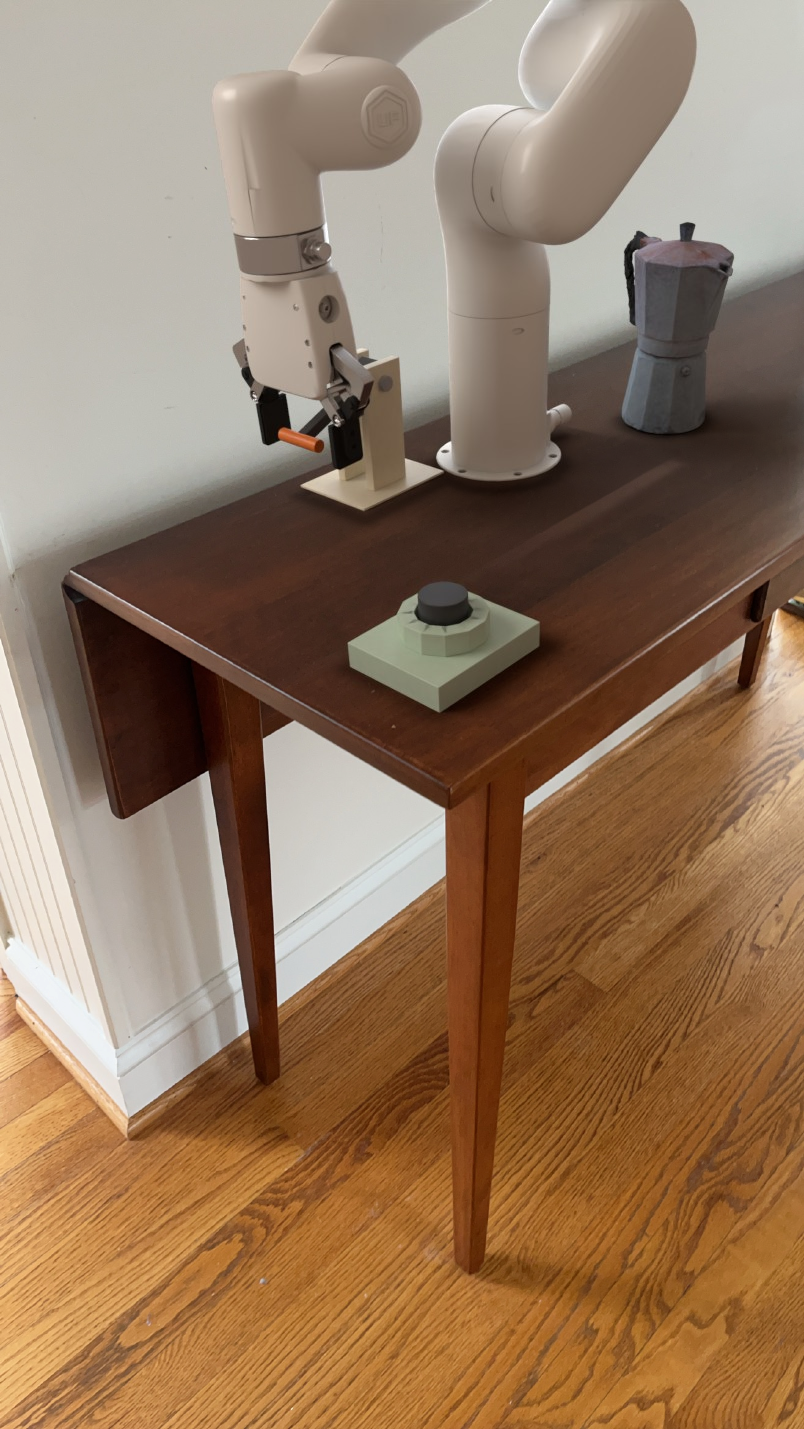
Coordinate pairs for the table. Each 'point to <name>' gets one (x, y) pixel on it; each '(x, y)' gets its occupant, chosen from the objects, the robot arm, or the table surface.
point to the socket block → (443, 651)
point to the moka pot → (672, 327)
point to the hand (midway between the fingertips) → (312, 451)
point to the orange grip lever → (314, 425)
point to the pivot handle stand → (377, 448)
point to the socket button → (443, 604)
